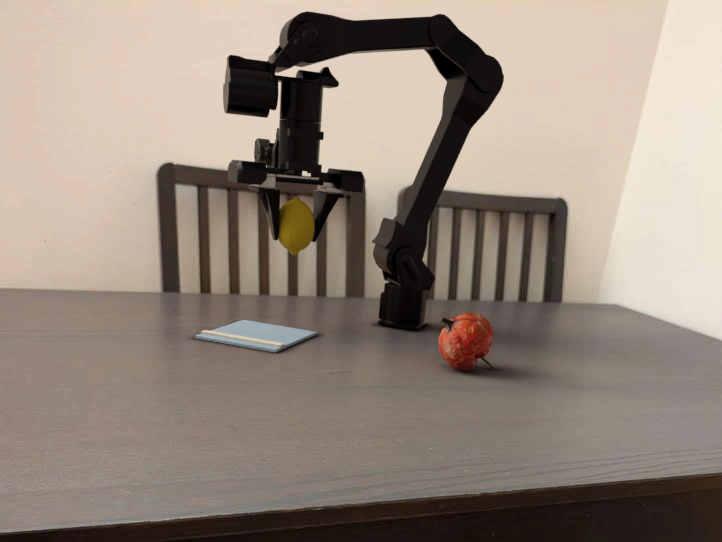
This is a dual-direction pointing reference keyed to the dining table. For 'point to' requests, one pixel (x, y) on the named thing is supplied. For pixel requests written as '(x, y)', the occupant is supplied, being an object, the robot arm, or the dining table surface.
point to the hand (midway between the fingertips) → (294, 240)
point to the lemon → (295, 225)
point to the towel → (256, 335)
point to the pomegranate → (465, 340)
